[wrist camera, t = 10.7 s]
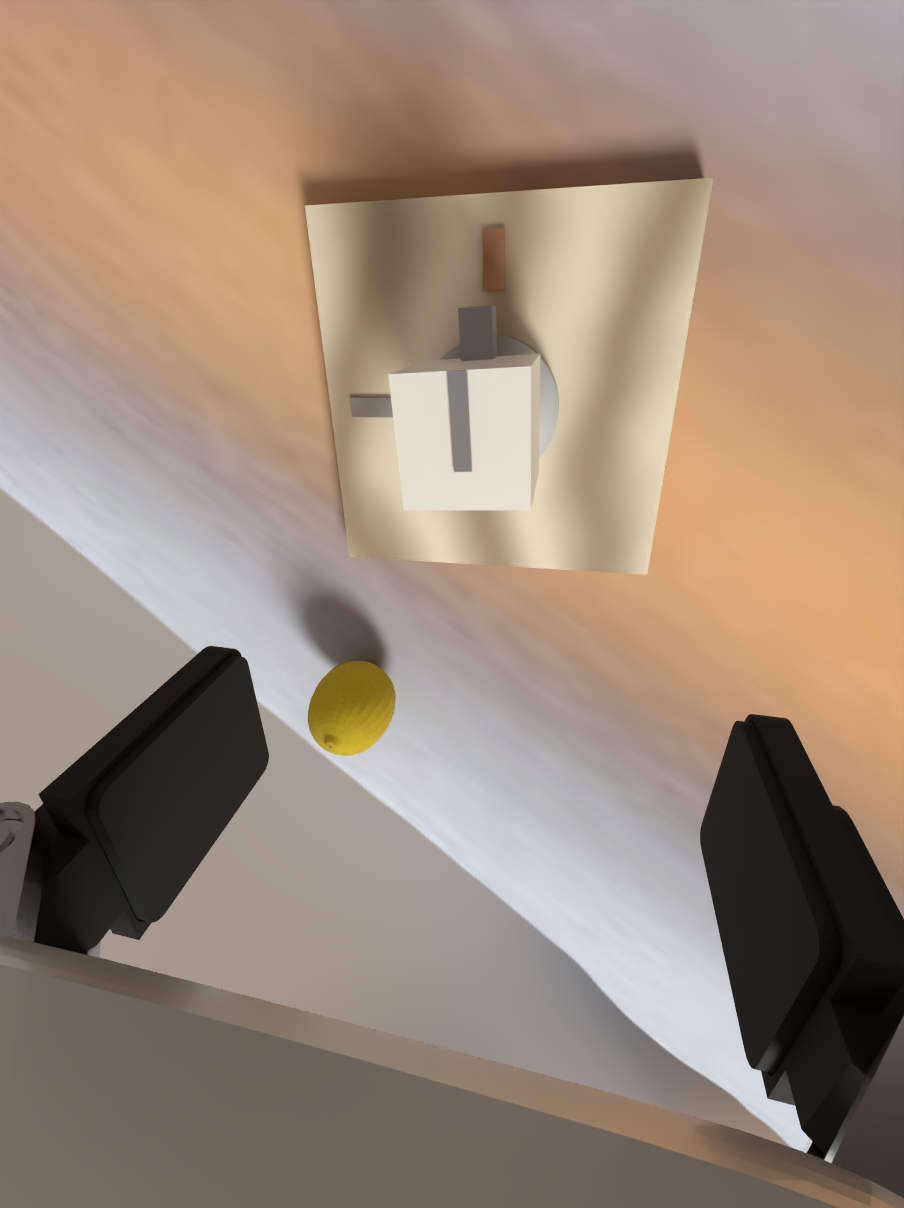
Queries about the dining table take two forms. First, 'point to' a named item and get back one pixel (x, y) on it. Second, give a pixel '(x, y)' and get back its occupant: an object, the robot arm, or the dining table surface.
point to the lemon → (351, 708)
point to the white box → (469, 424)
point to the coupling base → (554, 301)
